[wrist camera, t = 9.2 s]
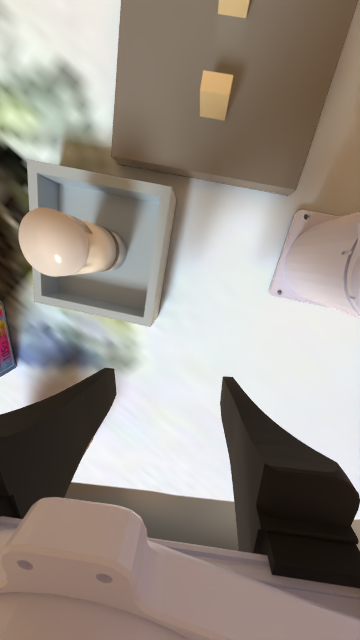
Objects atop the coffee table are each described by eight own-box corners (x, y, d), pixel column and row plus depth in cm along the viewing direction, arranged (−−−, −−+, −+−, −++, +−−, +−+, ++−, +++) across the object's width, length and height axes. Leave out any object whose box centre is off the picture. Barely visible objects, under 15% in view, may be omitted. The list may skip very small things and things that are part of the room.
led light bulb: (130, 234, 19) (83, 216, 11) (123, 275, 20) (77, 284, 13) (90, 223, 19) (17, 199, 11) (86, 265, 20) (18, 267, 13)
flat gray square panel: (362, -37, 13) (428, -157, 9) (287, 195, 18) (312, 177, 14) (135, -69, 14) (110, -195, 10) (118, 163, 18) (96, 138, 14)
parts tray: (176, 199, 18) (171, 186, 15) (157, 316, 22) (150, 326, 19) (57, 176, 19) (27, 159, 16) (58, 295, 23) (34, 301, 19)
